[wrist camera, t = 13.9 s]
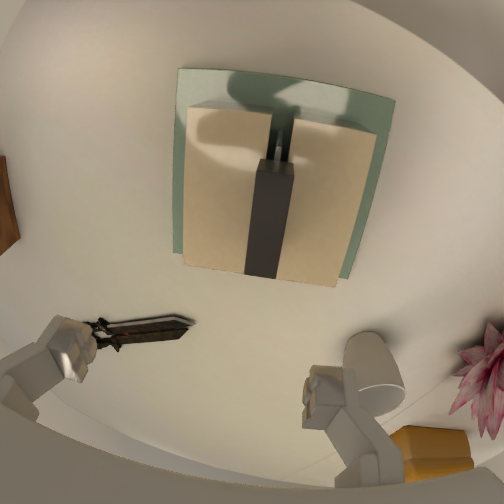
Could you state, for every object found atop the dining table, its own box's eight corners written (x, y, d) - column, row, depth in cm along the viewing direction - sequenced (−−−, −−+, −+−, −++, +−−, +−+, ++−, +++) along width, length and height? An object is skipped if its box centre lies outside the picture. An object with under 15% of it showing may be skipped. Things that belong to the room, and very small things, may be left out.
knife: (192, 312, 41) (190, 319, 40) (207, 344, 44) (205, 352, 43) (62, 318, 46) (58, 323, 45) (80, 344, 49) (77, 350, 48)
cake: (180, 68, 25) (152, 68, 20) (393, 99, 25) (421, 108, 19) (175, 249, 36) (154, 284, 30) (347, 275, 35) (355, 315, 30)
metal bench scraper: (267, 128, 27) (258, 154, 19) (293, 132, 27) (297, 160, 19) (254, 225, 32) (242, 285, 24) (278, 228, 32) (273, 290, 24)
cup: (326, 356, 43) (330, 415, 35) (351, 317, 39) (362, 380, 30) (374, 365, 43) (383, 420, 35) (401, 329, 39) (419, 387, 31)
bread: (466, 429, 56) (478, 477, 44) (432, 451, 63) (440, 496, 50) (406, 424, 54) (415, 485, 41) (369, 447, 60) (373, 502, 48)
